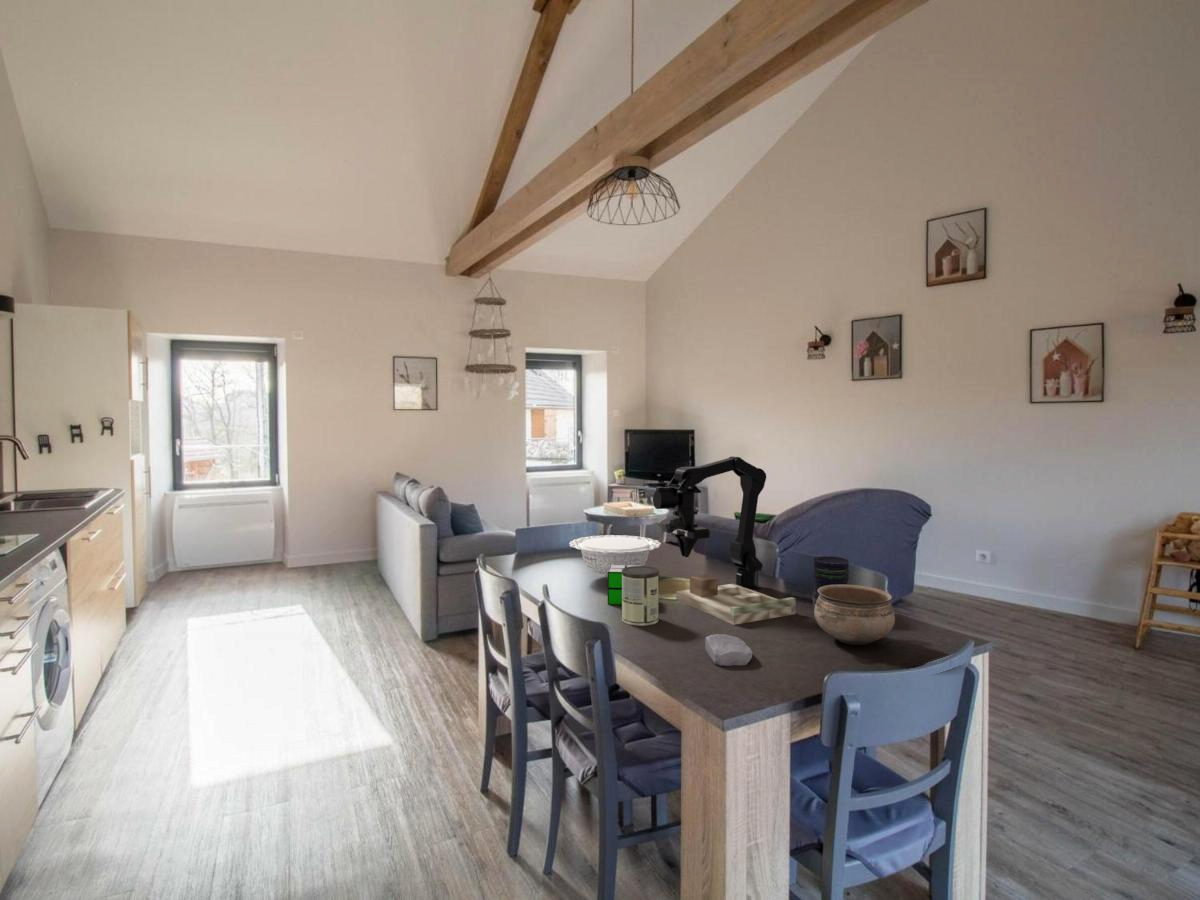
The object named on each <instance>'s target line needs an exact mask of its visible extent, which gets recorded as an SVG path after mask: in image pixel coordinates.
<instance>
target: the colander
mask: <svg viewBox="0 0 1200 900" xmlns="http://www.w3.org/2000/svg"><path fill="white" fill-rule="evenodd" d="M568 545H569V547H571V548H575V549H576V550H580V552H581V554H582V559H583V562H584V564H586V567H587V568H588V569H589V570H591V571H592V572H594V573H597V574H599V575H604V576H606V577H608V571H609V568H610V566H611V565H626V566H627V565H637V566H645V564H646V562H647V560H648V558H649V557H648V555H649V554H650V552H651V551H654V550H656V549H659V548H660V547H661V546H662V543H661V542H659V540H658V539H657V540H656V539H653V538H649V537H644V536H636V535H626V534H624V535H623V534H621V535H620V534H616V535H614V534H607V535H591V536H584V537H583V536H582V537H579V538H575V539H573V540H570V542H569V543H568ZM595 559H596V560H595Z"/></svg>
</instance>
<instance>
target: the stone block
mask: <svg viewBox="0 0 1200 900" xmlns="http://www.w3.org/2000/svg"><path fill="white" fill-rule="evenodd" d="M704 641H705V642H704V643H705V647H704V648H705V651H706V653H707V654H708V656H709V658H710V659H711V661H712V662H713V663H714V664H715V665H717V666H718V667H730V666H747V665H748V663H750V661H751V660H752V658H753V651H752V649H751V648H750V647H749V646H748V645H747V644H746V643H745V641H743V640H742V639H741V638H739V637H737V636H734V635H729V634H725V633H724V634H720V633H716V634H710V635H709V636H706V637H705V640H704Z"/></svg>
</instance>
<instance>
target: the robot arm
mask: <svg viewBox="0 0 1200 900" xmlns="http://www.w3.org/2000/svg"><path fill="white" fill-rule="evenodd" d="M728 472H733V473H734V474H735V475H736V476H738V477H739V478H740V479H739V483H740V488H741V491H742V501H741V508H740V515H739V516H740V518H739V522H738V523H739V525H738V530H737V531H738V532H737V535H736V536H737V537H736V538H735V540H731V541H730V543H729V550H728V554H729V557H730V559H731V561H732V562H733V566H734V567H735V568H736V570H737V571H736V575H735V576H736V577H735V578H736V579H735V580H736V582H735V584H736V585H739V586H741V587H744V588H747V589H750V590H756V589H762V586H761V585H759V572H761V571H762V570H763V569H762V568H763V563H762V562H761V561H760V560H759V559H758V557H757V548H756V545H755V542H754V534H755V533H754V530H755V525H756V524H755V523H756V517H757V515H756V514H757V508H758V500H759V496H760V494H761V492H762V491H763V489H764V488H765V484H766V481H767V473H766V472H765V471H764V469H762V468H761V467H760V468H759V467H756V466H755V465H753V464H751V463H749V462H747V461H746V460H744V459H743V458H742V457H740V456H734V455H733V456H729V457H728V458H724V459H720V460H717V461H713V462H709V463H705V464H704V465H703V464H702V465H698V466H681V467H678V468H676V469H675V472H674V473H673V477H672V478H671V480H670V482H669V483H668V484H667V486H665V487H662V486H656V488H655V491H654V493H653V496H652V505H653V507H654V508H655V510H665V509H674V510H673V512H672V515H671V516H669V517H666V518H664V519H663V520H660V521H659V525H660V528H661V531H662V532H663V533H666V534H670V535H671V536H672V537H674V538H675V540H676V542H677V544H678V548H679V550H680V554H681V556H682V557H685V558H689V556H690V555H691V553H692V551H693V548H694V547H695V545H696V543H697V541H698V540H701V539H702V540H703V539H709V538H711V531H710V529H709V528H706V527H703V526H698V524H697V523H695V519H696V517H695V516H696V515H698V511H697V510H696V494H701V493H702V490H700V489H699V488H698V487H697V485H699V484H701V483H702V482H703V481H704V480H707V478H708V479H709V478H710V477H715V476H718V475H721V474H724V473H728Z"/></svg>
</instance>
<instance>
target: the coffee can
mask: <svg viewBox="0 0 1200 900" xmlns="http://www.w3.org/2000/svg"><path fill="white" fill-rule="evenodd" d="M659 574H660V570H659V568H657V567H653V566H647V565H643V566H638V565H637V566H631V567H626V568H623V569H622V605H621V609H622V611H621V614H622V615H621V617H622V618H621V621H622V623H625V624H627V625H631V626H640V627H645V626H651V625H656V624H658V623H659V616H660V615H659V608H660V607H659V602H660V601H659V595H660V594H659V593H660V592H659V591H660V590H659V588H660V587H659V586H660V585H659V581H660V580H659V578H660V575H659Z"/></svg>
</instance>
